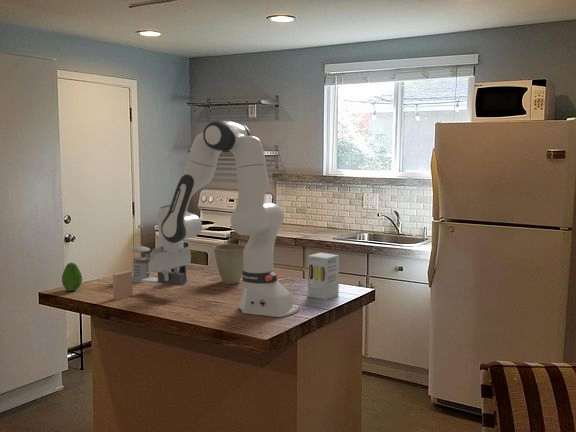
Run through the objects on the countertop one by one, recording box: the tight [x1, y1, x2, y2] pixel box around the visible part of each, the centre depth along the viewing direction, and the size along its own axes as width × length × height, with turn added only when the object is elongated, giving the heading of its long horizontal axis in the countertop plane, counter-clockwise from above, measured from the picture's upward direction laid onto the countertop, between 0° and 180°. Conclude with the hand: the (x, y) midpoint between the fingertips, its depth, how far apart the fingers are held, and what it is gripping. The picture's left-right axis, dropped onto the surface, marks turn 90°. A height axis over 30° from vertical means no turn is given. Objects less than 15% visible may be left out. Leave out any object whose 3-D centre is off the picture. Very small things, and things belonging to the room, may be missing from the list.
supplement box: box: [307, 252, 340, 301], centre depth 238 cm, size 10×9×17 cm
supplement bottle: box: [170, 265, 188, 283], centre depth 262 cm, size 7×7×12 cm
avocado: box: [61, 262, 83, 292], centre depth 246 cm, size 8×8×12 cm
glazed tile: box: [112, 270, 134, 301], centre depth 236 cm, size 2×8×10 cm, turn 147°
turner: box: [140, 271, 186, 287], centre depth 240 cm, size 20×6×4 cm, turn 58°
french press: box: [131, 224, 152, 283], centre depth 265 cm, size 10×12×25 cm
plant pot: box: [213, 243, 247, 285], centre depth 262 cm, size 15×15×16 cm
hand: (171, 279), depth 238 cm, fingers closed on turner, 3 cm apart
